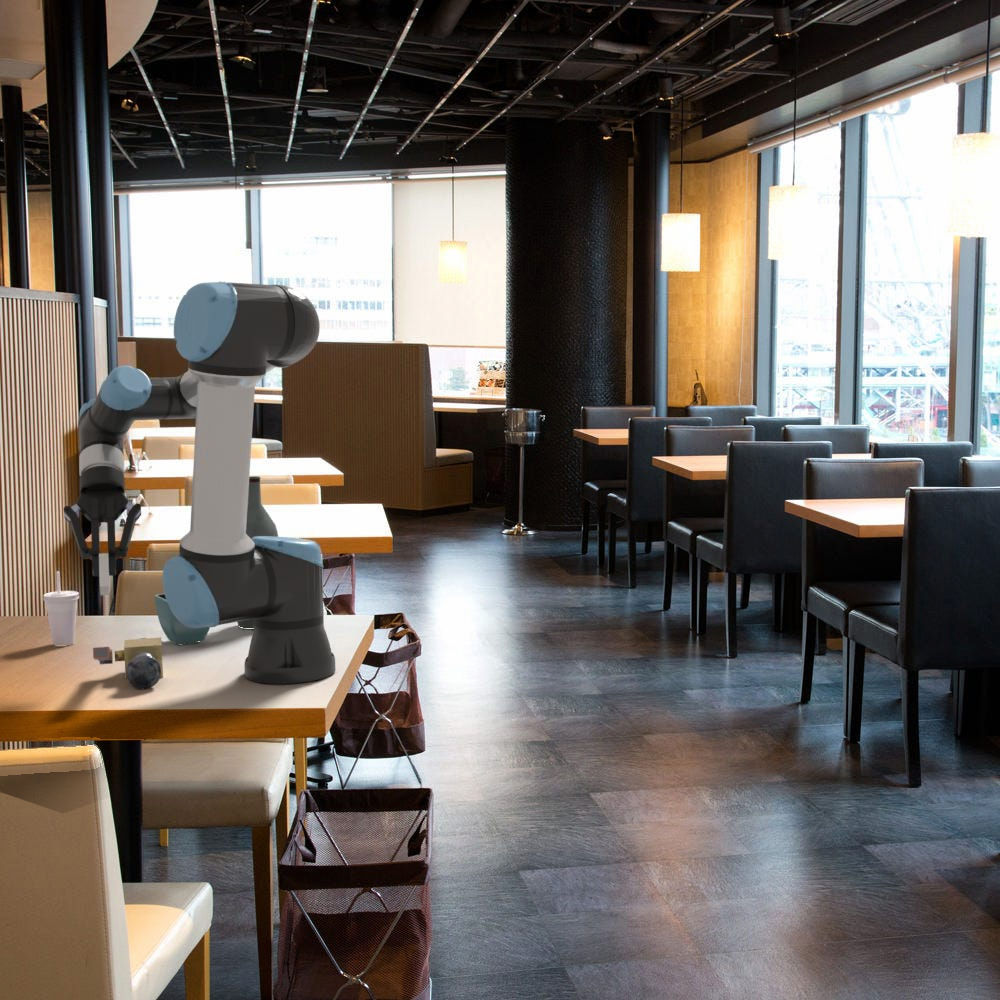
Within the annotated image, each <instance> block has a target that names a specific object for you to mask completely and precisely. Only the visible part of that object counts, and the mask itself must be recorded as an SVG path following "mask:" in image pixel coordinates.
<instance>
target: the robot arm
mask: <svg viewBox="0 0 1000 1000" xmlns="http://www.w3.org/2000/svg"><path fill="white" fill-rule="evenodd" d="M174 315H175V316H174V320H173V321H174V322H173V337H174V341H175V342H176V344H175V347H176V349H177V351H178V353H179V355H180V356H181V357H182V358H183V359H185V360H187V361H188V368H187V369H188V370H187V371H185V372H184V373H182V374H181V375H179V376H174V377H173V376H172V377H171V376H170V377H168V376H167V377H149V376H148V375H147V374H146V373H145V372H144V371H143V370H142V369H139V368H136V367H133V366H131V365H119V366H116V367H115V368H113V369H112V370H111V371H110V372H109V374H108V375H107V376H106V377H105V380H103V382H102V383H101V384H100V385H101V386H100V388H99V390H98V393H97V395H96V398H92V399H90V400H89V401H88V402H85V403H84V404H82V406H81V407H80V410H79V418H78V420H77V421H78V423H77V425H78V427H77V428H78V440H79V441H78V447H79V448H78V449H79V456H78V457H79V458H78V461H79V463H78V464H79V471H78V472H79V496H78V498H77V499H76V503H75V504H74V505H72V506H69V505H66V506H64V507H63V517H64V520H65V521H67V522H68V524H69V525H70V526H71V530H72V533H73V535H74V539H75V542H76V544H77V548H78V551H79V554H80V557H81V559H83V560H87V559H88V560H91V572H92V576H93V577H98V578H99V579H98V580H99V596H110V593H111V591H110V590H111V589H110V587H111V586H110V577H111V576H112V577H113V576H116V574H117V559H118V558H126V557H127V555H128V553H129V549H130V548H129V547H130V545H131V540H132V537H133V533H134V529H135V526H136V522H137V521H139V518H140V517H141V516H142V505H141V504H140V503H137V502H136V503H135V504H134V503H132V502H129V499H128V497H127V495H126V482H125V480H126V479H125V453H124V440H125V436H126V434H127V433H128V432H129V430H130V428H131V427H132V426H133V424H134V423H135V422H136V421H153V420H154V421H158V420H159V421H160V420H181V419H188V420H189V419H192V420H193V419H194V420H195V425H194V426H195V430H194V431H195V432H194V447H193V448H194V449H193V467H192V468H193V470H192V489H191V510H190V526H189V528H190V529H189V531H188V532H187V533H186V534H185V535H183V537H181V538H180V540H179V550H178V555H174V556H172V557H171V558H169V559H168V560H166V562H165V564H164V566H163V569H162V579H161V580H162V588H163V594H165V597H166V600H167V603H168V605H169V607H170V609H171V611H172V613H173V614H174V616H175V617H176V618H177V619H178V620H179V621H180V622H181V623H182V624H184V625H185V626H187V627H190V628H201V627H210V628H215V627H217V626H222V625H228V624H233V623H237V622H238V621H244V620H249V619H254V630H252V631H253V632H252V636H251V640H250V644H249V649H248V654H247V657H245V659H244V666H243V667H244V677H245V678H246V679H247V680H250V681H252V682H256V683H263V684H273V685H274V684H276V685H278V684H282V685H284V684H288V685H289V684H298V683H299V684H300V683H301V684H302V683H307V682H312V681H319V680H321V679H325V678H327V677H330V676H332V675H333V674H335V673H336V657H335V654H334V653H333V651H332V648H331V645H330V641H329V636H328V635H327V631H326V629H325V624H324V622H325V621H324V619H325V618H324V585H323V584H324V583H323V569H324V564H323V558H322V549H321V546H320V545H319V543H317V542H316V541H314V540H312V539H311V540H310V539H307V538H306V539H305V538H298V537H297V538H296V537H288V536H287V537H286V536H285V537H284V536H278V537H272V536H257V537H253V538H252V539H251V538H250V537H249V536H248V535H247V534H246V523H247V507H248V490H249V477H250V473H251V472H250V470H251V456H252V455H251V454H252V442H253V441H252V440H253V438H252V436H253V422H254V410H255V409H254V406H255V390H256V389H255V388H256V385H257V384H258V383H259V382H260V381H261V380H263V379H264V377H266V375H267V373H268V372H270V371H272V370H273V369H274V368H279V369H284V368H287V367H290V366H292V365H294V364H295V363H297V362H300V361H301V360H302V359H304V358H305V357H306V356H308V355H309V354H310V352H312V350H313V349H314V347H315V346H316V343H317V341H318V340H319V336H320V327H321V326H320V319H319V315H318V312H317V309H316V308H315V306H314V304H313V303H312V302H311V300H310V299H309V298H308V297H307V296H306V295H304V294H303V293H302V292H301V291H300V290H297V289H295V288H293V287H290V286H287V285H284V284H259V283H246V282H245V283H242V282H229V281H228V282H227V281H214V282H213V281H211V282H201V283H197V284H194V285H193V286H191V287H190V288H189V289H188V290H187V291H186V294H184V295H183V297H182V298H181V300H180V302H179V304H178V306H177V308H176V312H175V314H174ZM125 511H126V519H125V523H124V526H123V527H124V528H123V529H122V534H121V538H120V543H119V545H118V546H117V545H116V521H117V520H118V519H119V518H120V517H121V516H122V514H123V513H124V512H125ZM80 513H81V514H82V515H83V516H84V517H85V518H86V520H88V521H89V522H90V525H91V526H90V529H91V534H90V535H91V547H88V544H87V541H86V538H85V535H84V532H83V528H82V526H81V525H82V524H81V523H80V520H79V518H80ZM101 523H106V528H107V529H106V530H107V531H106V532H107V534H106V535H107V552H106V553H101V552H100V551H101V550H100V549H101V546H100V545H101V544H100V538H101V537H100V524H101Z"/></svg>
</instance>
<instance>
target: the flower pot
mask: <svg viewBox="0 0 1000 1000" xmlns="http://www.w3.org/2000/svg"><path fill="white" fill-rule="evenodd" d="M154 602H155V607H156V614H157V617H158V622H159V624H160V628H161V629H162V632H163V633H164V635H165V636H166V638H167V639H168V641H169V642H171V641H172V643H173V642H174V643H173V644H175V645H176V644H182V645H185V644H184V643H188V644H191V643H190V642H195V643H199V642H198V641H202V642H203V641H204V640H205V639H206V637H207V635H208V633H209V631H210V629H211V627H201V628H190V627H187V626H185V625H184V624H182V623H181V622H180V621H179V620H178V619H177V618H176V617H175V616H174V614H173V613H172V611H171V609H170V607H169V605H168V603H167V600H166V597H165V593H160V594H155V595H154Z"/></svg>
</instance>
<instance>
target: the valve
mask: <svg viewBox="0 0 1000 1000" xmlns="http://www.w3.org/2000/svg"><path fill="white" fill-rule="evenodd" d="M162 645H163V643H162V637H150V638H149V637H148V638H147V637H142V638H136V639H135V638H134V639H124V645H123V649H122V650H121V649H120V650H119V649H118V650H114V661H115V662H124V671H125V672H124V676H125V677H124V678H125V681H127V682H128V683H129V685H131V686H132V687H133V688H135V689H138V690H147V689H150V688H152V687H154V686H156V684H157V683H158V682H159V680H160V678H164V668H163V649H162Z"/></svg>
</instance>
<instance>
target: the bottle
mask: <svg viewBox="0 0 1000 1000" xmlns="http://www.w3.org/2000/svg"><path fill="white" fill-rule="evenodd" d="M246 534H247V535H248V536H249V537H250V538H251V539H252V538H253V537H257V536H272V537H279V533H278V530H277V525H276V524H275V522H274V520H273V519H272V517H271V516H270V514H269V513H268V511H267V510H266V509H265V507H264V506H263V504H262V494H261V476H256V475H255V476H254V475H253V476H249V490H248V507H247V523H246ZM236 623H237V626H238V627H239V626H240V627H243V628H254V619H249V620H244V621H238V622H236Z"/></svg>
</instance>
